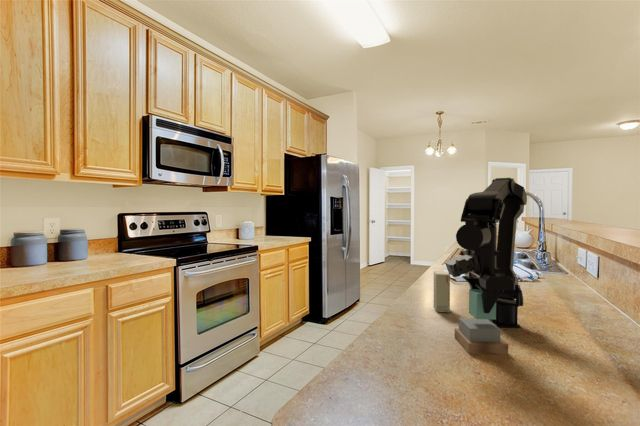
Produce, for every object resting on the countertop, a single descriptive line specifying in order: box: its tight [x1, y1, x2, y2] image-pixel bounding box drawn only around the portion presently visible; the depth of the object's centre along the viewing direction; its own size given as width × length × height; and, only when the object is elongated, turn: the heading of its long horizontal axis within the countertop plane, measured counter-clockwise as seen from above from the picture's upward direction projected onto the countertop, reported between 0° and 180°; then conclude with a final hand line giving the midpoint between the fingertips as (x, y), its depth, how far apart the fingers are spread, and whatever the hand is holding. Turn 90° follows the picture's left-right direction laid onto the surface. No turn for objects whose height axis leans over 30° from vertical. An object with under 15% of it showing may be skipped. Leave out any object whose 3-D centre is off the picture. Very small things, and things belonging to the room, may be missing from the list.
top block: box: [458, 317, 501, 342], centre depth 81 cm, size 7×7×3 cm
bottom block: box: [454, 328, 509, 356], centre depth 81 cm, size 9×9×3 cm
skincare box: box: [433, 270, 451, 314], centre depth 108 cm, size 6×4×12 cm
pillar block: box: [468, 288, 496, 320], centre depth 80 cm, size 4×4×6 cm
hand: (482, 309), depth 80 cm, fingers closed on pillar block, 4 cm apart
